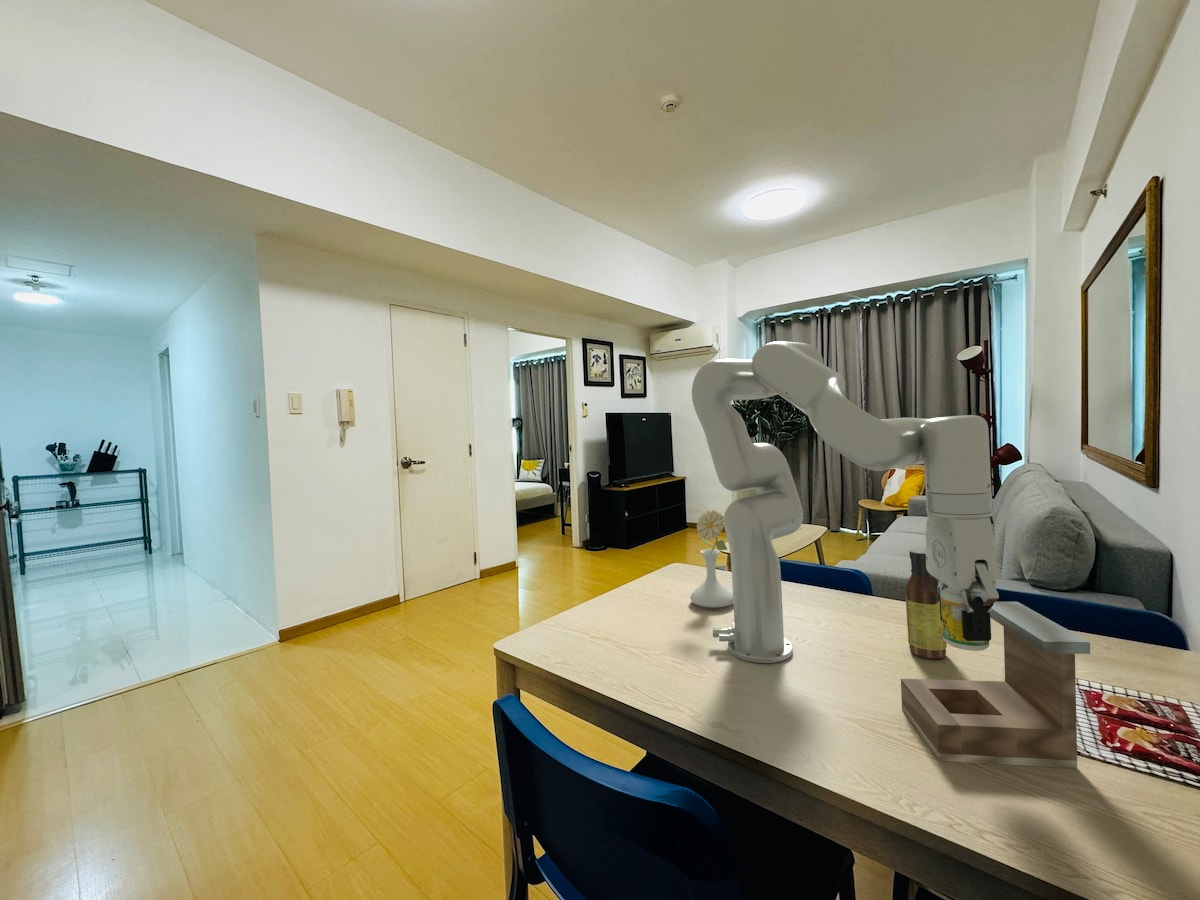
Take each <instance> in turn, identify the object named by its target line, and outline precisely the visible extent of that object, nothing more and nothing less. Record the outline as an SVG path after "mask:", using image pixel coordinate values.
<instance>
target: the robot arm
mask: <svg viewBox="0 0 1200 900" xmlns="http://www.w3.org/2000/svg"><path fill="white" fill-rule="evenodd" d="M845 387H846V381H845V378H844V376H843V375H842V374H840V373H839V372H837V371H835V370H834V369H832V368H831V367H829V366H827V365H825V364H824V358H823V356H822V354H821V352H820V351H819V350H818V349H817V348H816V347H815V346H813V345H811V344H809V343H805V342H795V341H783V340H782V341H780V340H779V341H771V342H767V343H766V344H763V345H762V346H760V347H759V348H758V349H756V351H755V353H754V354H753V356H752V359H745V358H744V359H742V358H741V359H740V358H721V359H715V360H711V361H708V362H706V363H705V364H703V365H702V366H701V367H700V368H699V369H698V371H697V372H696V373H695V375H694V378H693V383H692V387H691V400H692V405H693V408H694V411H695V414H696V416H697V418H698V420H699V423H700V425H701V427H702V430H703V432H704V436H705V439H706V443H707V446H708V449H709V454H710V457H711V458H712V459H711V460H712V462H713V467H714V469H715V473H716V476H717V479H718V481H719V483H720V485H721V486H722V488H724V489H725V490H728V491H731V492H741V491H742V492H743V491H748V490H755V492H756V494H753V495H752V494H751V495H748V496H743V497H740V498H738V499H735V500H734V501H732V502H731V503H730V504H729V505H728V506H727V507H726V509H725V511H724V515H723V516H724V519H723V520H724V523H723V524H724V527H723V528H724V530H725V534H726V539H727V542H728V546H729V547H728V548H729V554H730V555H729V556H730V564H731V565H730V566H731V567H730V568H731V582H732V593H733V603H732V604H733V618H734V620H733V621H732V623H731V624H732V625H731V626H727V627H726V628H725V627H724V628H722V627H712V638H718V639H719V640H718V641H719V642H727V648H728V651H729V652H730V653H731V654H732V655H733V656H734V657H736V658H739V659H740V660H743V661H747V662H750V663H751V662H752V663H758V664H775V663H780V662H784V661H786V660H788V659H789V658H790V657H791V656H792V655H793V653H794V652H793V651H794V650H793V644H792V643H791V642H790V641H789V640H788V639H787V638H785V637H784V636H785V634H784V611H783V592H782V574H781V564H780V563H781V562H780V560H779V555H778V554H777V552H776V550H775V547H774V546H773V543H772V541H773V540H777V539H779V538H783V537H787V536H789V535H792V534H794V533H795V532H797V531H798V530H799V529H800V528H801V526H802V524H803V520H804V509H803V506H802V502H801V498H800V496H799V493H798V490H797V487H796V483H795V481H794V478H793V474H792V471H791V469H790V465H789V463H788V460H787V458H786V457H785V455H784V454H783V452H782V451H781V450H780V449H779V448H777V447H776V446H775V445H774V444H771V443H767V442H755V443H753V442H752V440H751V438H750V435H749V433H748V428H747V426H746V422H745V421H744V419H743V417H742V415H741V414H740V413H739V411H737V410H736V408H734V406H733V405H732V403H731V402H732V401H746V400H747V401H750V400H751V401H753V400H761V399H765V398H770V397H774V396H777V395H778V396H780V397H781V398H782V399H784V400H785V401H787V402H788V403H790V404H791V405H793V406H794V407H796V408H797V409H798V410H800V411H801V412H802V413H804V414H805V415H806V416H808V419H809V422H810V424H811V426H812V427H813V429H814V430H815V432H816V434H817V435H818V437H820V439H821V440H822V441H823V442H824V443H826V444H827V445H828V446H829V447H831V448H832V449H833V450H835V451H836V452H838V453H839V454H840V455H841V456H843V457H844V458H846V459H848V460H849V461H850V462H852V463H853V464H856V465H857V466H859V467H861V468H864V469H865V470H869V471H870V470H871V471H875V472H883V471H888V470H894V469H897V468H905V467H910V466H916V465H923V467H924V468H923V469H924V484H925V485H924V486H925V506H926V508H925V509H926V514H927V517H926V527H925V549H926V569H927V571H928V573H929V574H930V575H932V576H933V577H935V578H936V579H937V581H938V593H939V594H941V591H942V590H943V589H944V588H947V587H948V586H949V587H951V588H952V589H954V590H956V591H961V593H962V598H963V603H964V608H965V610H961V612H962V631H963V638H964V639H965V640H967V641H989V642H990V641H991V640H992V628H991V626H992V624H991V623H992V621H991V618H990V613H992V606H993V604H994V602H998V600H999V598H1000V594H999V592H998V591H997V586H998V585H997V584H998V565H997V555H996V554H997V553H996V547H995V546H996V545H995V539H994V538H995V537H994V533H993V527H992V522H991V517H993V495H992V493H993V492H992V479H991V477H992V476H991V456H990V454H991V453H990V436H989V433H990V432H989V425H988V422H987V420H986V419H985V418H984V417H983V416H981V415H974V414H968V415H952V416H951V415H949V416H940V417H931V418H923V417H922V418H920V417H895V418H884V419H883V418H881V419H880V418H878V417H876V416H874V415H872V414H871V413H869V412H867V411H866V410H863V408H861V407H859V406H858V405H856V404H855V403H853V402H852V401H851V400H849V399H848V398H847V397H846V396H845V395H844V391H845ZM971 584H978V585H979V587H980V588H969V587H970V586H971ZM970 593H980V594H979V595H980V596H979V597H975V598H974V599H973V600H971V596H970ZM939 602H940V620H941V621H942V615H941V597H940V595H939Z"/></svg>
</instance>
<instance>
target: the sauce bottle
mask: <svg viewBox="0 0 1200 900" xmlns="http://www.w3.org/2000/svg"><path fill="white" fill-rule="evenodd" d="M908 552H909V554H908V555H909V558H910V567H911V569H910V572H911V575H910V576H909V577H908V579H907V580H906V582H905V607H906V610H905V611H906V625H907V627H906V628H907V641H908V644H909V645H908V646H909V650H910V653H912V654H914V655H915V656H918V657H919V658H920V657H921V658H923V659H924V658H925V659H930V660H940V659H943V658H945V657H946V654H947V647H948V643H946V642H945V641H944V639H943V633H942V621H941V620H940V602H939V595H940V594H939V593H938V581H937V579H936V578H935V577H933V576H932V575H930V574H929V573H928V571H927V569H926V548H925V549H924V548H914V549H910V550H909V551H908Z"/></svg>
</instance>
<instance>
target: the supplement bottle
mask: <svg viewBox="0 0 1200 900" xmlns="http://www.w3.org/2000/svg"><path fill="white" fill-rule="evenodd" d="M969 588H980V587H979V585H978V584H971V586H970V587H969ZM979 594H980V593H970V596H971V600H973V599H974V598H975V597H979V596H980V595H979ZM940 597H941V615H942V633H943V639H944V641H945V642H946V643H947V645H949V646H951V647H953V648H956V649H959V650H964V651H973V652H975V651H976V652H978V651H984V650H987V649H988V648H989V646H990V641H967V640H965V639H964V638H963V631H962V612H961V610H965V608H964V603H963V598H962V593H961V591H956V590H954V589H952V588H951V587H949V586H948V587H947V588H944V589H943V590H942V591H941V594H940Z"/></svg>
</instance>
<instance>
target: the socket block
mask: <svg viewBox="0 0 1200 900" xmlns="http://www.w3.org/2000/svg"><path fill="white" fill-rule="evenodd" d="M990 619H992V620H994V621H995V622H996V623H998V624H1000V625H1001V626H1002V627H1003V654H1004V681H1003V680H1001V681H999V680H998V681H997V680H996V681H994V680H969V679H968V680H961V679H933V678H932V679H926V678H922V679H921V678H920V679H919V678H900V690H901V691H900V694H901V710H902V712H903V713H904V714H905V716H906V717H907V719H908V720H909V721H910V723H911V724H912V725H913V727H914V729H916V732H918V735H920V736H921V738H922V739H923V741H924V742H925V744H926V745H927V746H928V747H929V749H930V750H931V752H932V754H933V755H934V756H935V757H936V759H937V760H938V761H940V762H953V763H954V762H957V763H972V764H973V763H974V764H975V763H976V764H990V765H991V764H993V765H995V764H996V765H1008V766H1009V765H1012V766H1013V765H1014V766H1026V767H1027V766H1031V767H1046V768H1048V767H1049V768H1067V769H1078V735H1077V734H1078V733H1077V731H1078V730H1077V729H1078V728H1077V696H1076V695H1077V691H1076V690H1077V688H1076V687H1077V685H1076V679H1077V678H1076V655H1078V654H1079V655H1091V642H1090V641H1089V640H1087V639H1086V638H1083V637H1082V636H1080V635H1078V634H1076V633H1075V632H1073V631H1070V630H1069V629H1068V628H1066V627H1064V626H1061V625H1060V624H1059V623H1056V622H1055V621H1053V620H1051V619H1049V617H1048V618H1047V617H1046V616H1043V614H1040V613H1038V612H1036V611H1035V610H1033V609H1031V608H1029V607H1028V606H1026V605H1025V604H1023V603H1020V602H1019V601H996V602H994V604H993V606H992V613H990Z"/></svg>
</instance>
